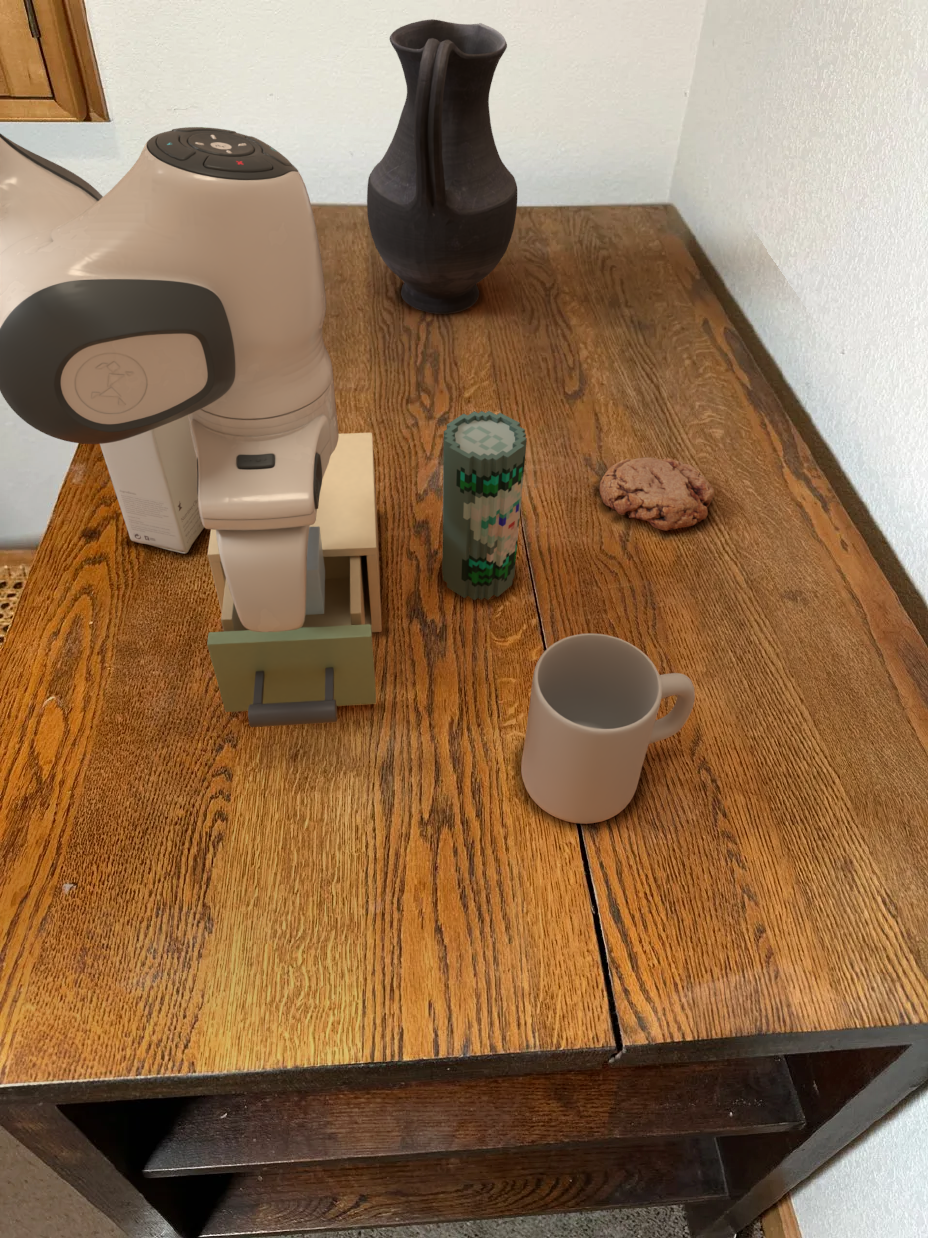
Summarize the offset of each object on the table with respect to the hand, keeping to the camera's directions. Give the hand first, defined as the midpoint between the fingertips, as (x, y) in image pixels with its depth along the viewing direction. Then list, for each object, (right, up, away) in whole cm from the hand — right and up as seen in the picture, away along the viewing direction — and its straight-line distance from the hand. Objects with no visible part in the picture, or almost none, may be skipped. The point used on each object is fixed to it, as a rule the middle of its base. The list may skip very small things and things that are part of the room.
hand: (290, 578), depth 67 cm
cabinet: (-1, +1, +15) cm, 15 cm away
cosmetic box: (-14, +6, +19) cm, 25 cm away
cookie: (+31, +8, +23) cm, 39 cm away
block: (0, -1, +1) cm, 2 cm away
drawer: (0, -6, +7) cm, 9 cm away
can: (+14, +1, +15) cm, 21 cm away
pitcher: (+10, +36, +48) cm, 61 cm away
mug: (+23, -14, +2) cm, 27 cm away
